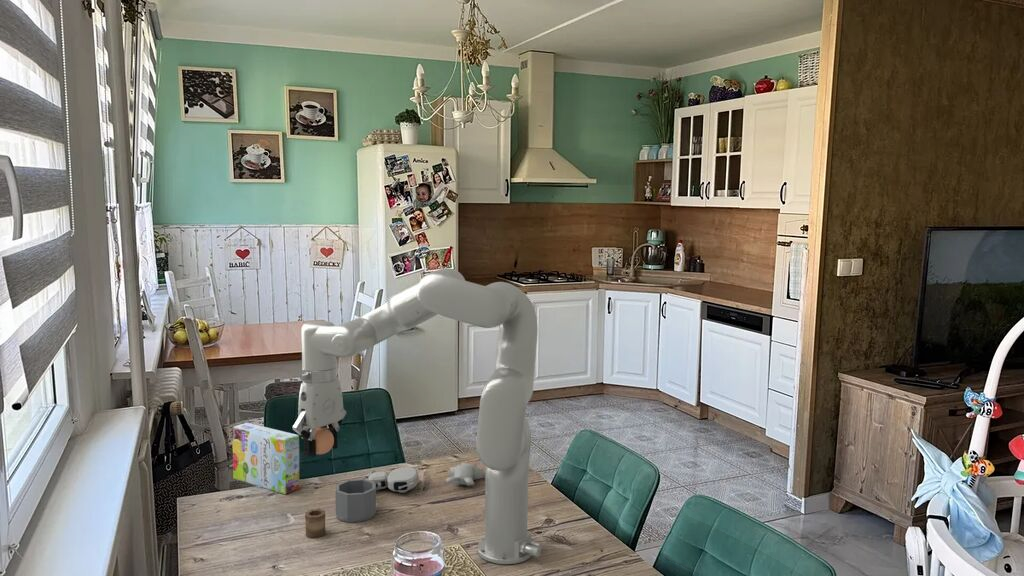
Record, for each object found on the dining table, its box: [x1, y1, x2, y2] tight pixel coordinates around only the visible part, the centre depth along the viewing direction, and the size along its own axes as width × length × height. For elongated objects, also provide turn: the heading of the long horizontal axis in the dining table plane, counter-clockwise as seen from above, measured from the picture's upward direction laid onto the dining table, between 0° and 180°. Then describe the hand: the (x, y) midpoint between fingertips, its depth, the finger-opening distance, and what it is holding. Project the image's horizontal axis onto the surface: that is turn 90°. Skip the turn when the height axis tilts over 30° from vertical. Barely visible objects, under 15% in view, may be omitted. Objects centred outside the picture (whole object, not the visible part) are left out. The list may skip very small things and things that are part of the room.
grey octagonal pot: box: [335, 478, 377, 523], centre depth 175 cm, size 10×10×7 cm
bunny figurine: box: [444, 462, 484, 487], centre depth 196 cm, size 10×5×15 cm
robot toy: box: [363, 465, 420, 494], centre depth 192 cm, size 12×4×15 cm
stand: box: [304, 508, 326, 539], centre depth 165 cm, size 4×4×5 cm
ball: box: [313, 427, 334, 455], centre depth 164 cm, size 6×6×6 cm
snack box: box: [231, 422, 300, 495], centre depth 193 cm, size 21×6×15 cm, turn 59°
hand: (321, 450), depth 164 cm, fingers closed on ball, 6 cm apart
